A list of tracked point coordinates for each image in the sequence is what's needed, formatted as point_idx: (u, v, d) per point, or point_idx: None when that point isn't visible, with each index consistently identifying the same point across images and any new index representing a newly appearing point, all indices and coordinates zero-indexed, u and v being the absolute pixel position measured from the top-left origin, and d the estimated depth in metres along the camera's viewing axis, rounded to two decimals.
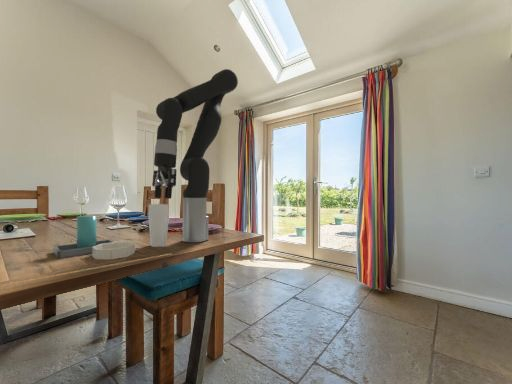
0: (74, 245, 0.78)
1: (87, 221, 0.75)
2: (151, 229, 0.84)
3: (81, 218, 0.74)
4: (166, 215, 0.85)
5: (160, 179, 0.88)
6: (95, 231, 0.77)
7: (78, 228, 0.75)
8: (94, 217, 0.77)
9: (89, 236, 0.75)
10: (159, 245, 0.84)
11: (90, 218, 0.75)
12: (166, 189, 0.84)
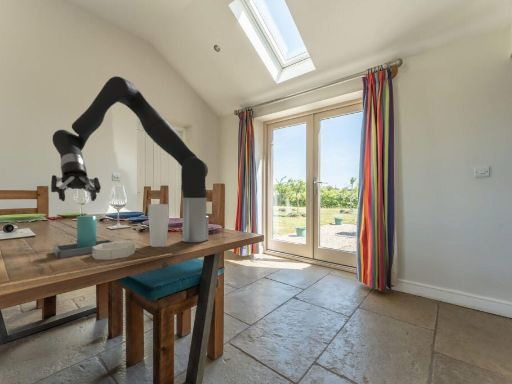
0: (74, 245, 0.78)
1: (87, 221, 0.75)
2: (151, 229, 0.84)
3: (81, 218, 0.74)
4: (166, 215, 0.85)
5: None
6: (95, 231, 0.77)
7: (78, 228, 0.75)
8: (94, 217, 0.77)
9: (89, 236, 0.75)
10: (159, 245, 0.84)
11: (90, 218, 0.75)
12: None
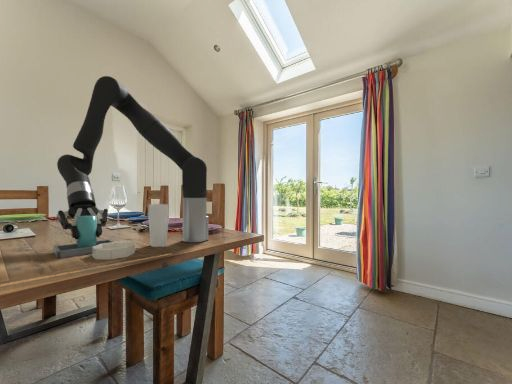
0: (74, 245, 0.78)
1: (87, 221, 0.75)
2: (151, 229, 0.84)
3: (81, 218, 0.74)
4: (166, 215, 0.85)
5: None
6: (95, 231, 0.77)
7: (78, 228, 0.75)
8: (94, 217, 0.77)
9: (89, 236, 0.75)
10: (159, 245, 0.84)
11: (90, 218, 0.75)
12: None
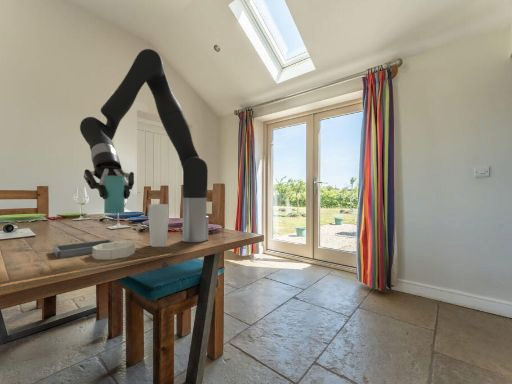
0: (74, 245, 0.78)
1: (116, 180, 0.71)
2: (151, 229, 0.84)
3: (109, 177, 0.70)
4: (166, 215, 0.85)
5: None
6: (123, 192, 0.73)
7: (106, 187, 0.71)
8: (122, 177, 0.73)
9: (118, 196, 0.71)
10: (159, 245, 0.84)
11: (118, 177, 0.72)
12: None
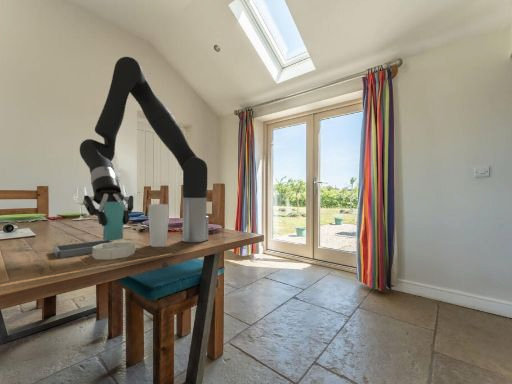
0: (74, 245, 0.78)
1: (115, 207, 0.71)
2: (151, 229, 0.84)
3: (109, 203, 0.70)
4: (166, 215, 0.85)
5: None
6: (122, 218, 0.73)
7: (105, 214, 0.71)
8: (121, 203, 0.73)
9: (117, 223, 0.71)
10: (159, 245, 0.84)
11: (118, 204, 0.71)
12: None
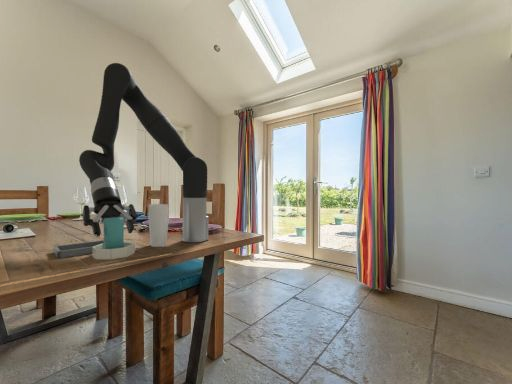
0: (74, 245, 0.78)
1: (115, 223, 0.71)
2: (151, 229, 0.84)
3: (109, 220, 0.70)
4: (166, 215, 0.85)
5: None
6: (122, 233, 0.73)
7: (105, 230, 0.71)
8: (121, 219, 0.73)
9: (117, 239, 0.71)
10: (159, 245, 0.84)
11: (118, 220, 0.71)
12: None
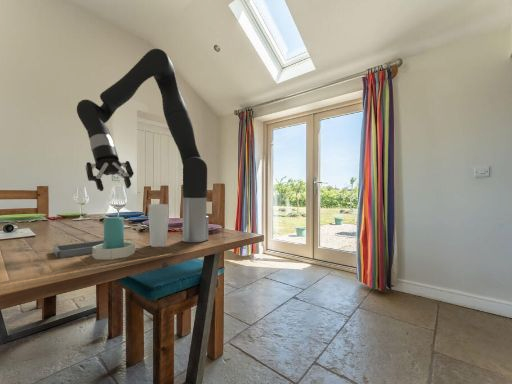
0: (74, 245, 0.78)
1: (115, 223, 0.71)
2: (151, 229, 0.84)
3: (109, 220, 0.70)
4: (166, 215, 0.85)
5: None
6: (122, 233, 0.73)
7: (106, 230, 0.71)
8: (122, 219, 0.73)
9: (117, 239, 0.71)
10: (159, 245, 0.84)
11: (118, 220, 0.72)
12: None
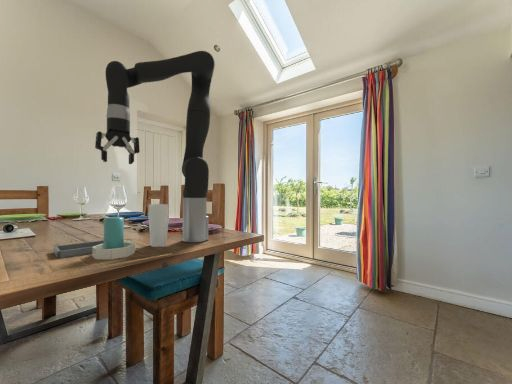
0: (74, 245, 0.78)
1: (115, 223, 0.71)
2: (151, 229, 0.84)
3: (109, 220, 0.70)
4: (166, 215, 0.85)
5: None
6: (122, 233, 0.73)
7: (105, 230, 0.71)
8: (122, 219, 0.73)
9: (117, 239, 0.71)
10: (159, 245, 0.84)
11: (118, 220, 0.72)
12: None
